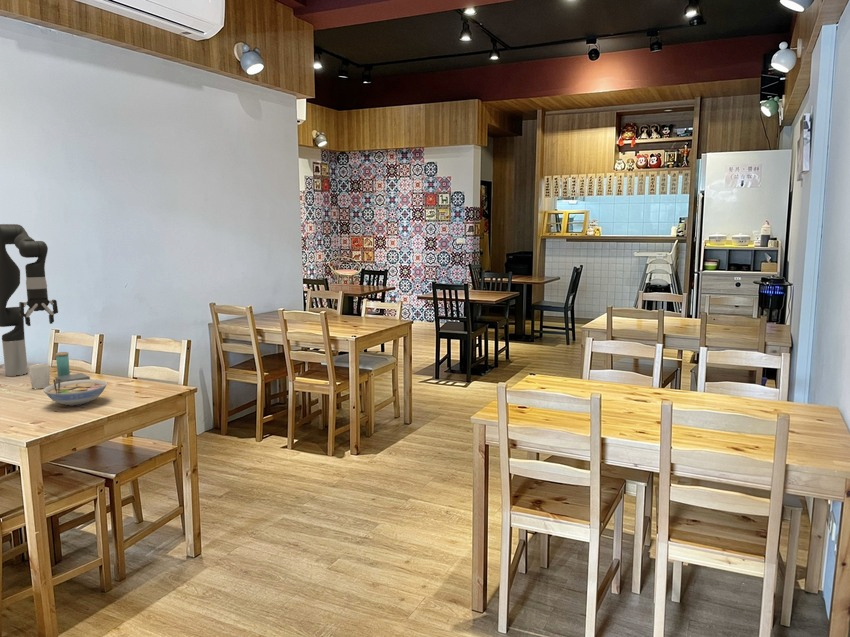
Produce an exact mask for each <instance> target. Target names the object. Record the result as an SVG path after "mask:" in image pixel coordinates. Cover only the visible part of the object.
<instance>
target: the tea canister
mask: <svg viewBox="0 0 850 637" xmlns="http://www.w3.org/2000/svg"><path fill="white" fill-rule="evenodd" d="M69 360H70V359H69V352H68V351H60V352H56V353H55V361H56V371H57V377H58V376H64V375H71V373H70V372H71V370H70V361H69Z"/></svg>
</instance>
